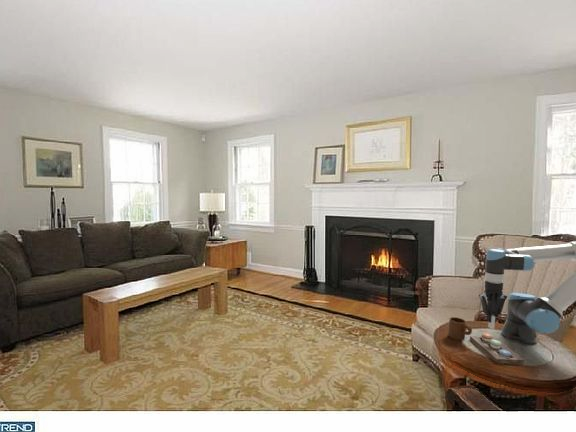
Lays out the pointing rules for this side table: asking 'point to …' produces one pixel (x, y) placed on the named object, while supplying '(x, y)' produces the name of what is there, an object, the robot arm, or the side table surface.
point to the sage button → (495, 344)
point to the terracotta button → (486, 337)
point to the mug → (458, 329)
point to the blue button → (504, 353)
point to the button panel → (496, 351)
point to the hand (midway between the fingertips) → (491, 328)
